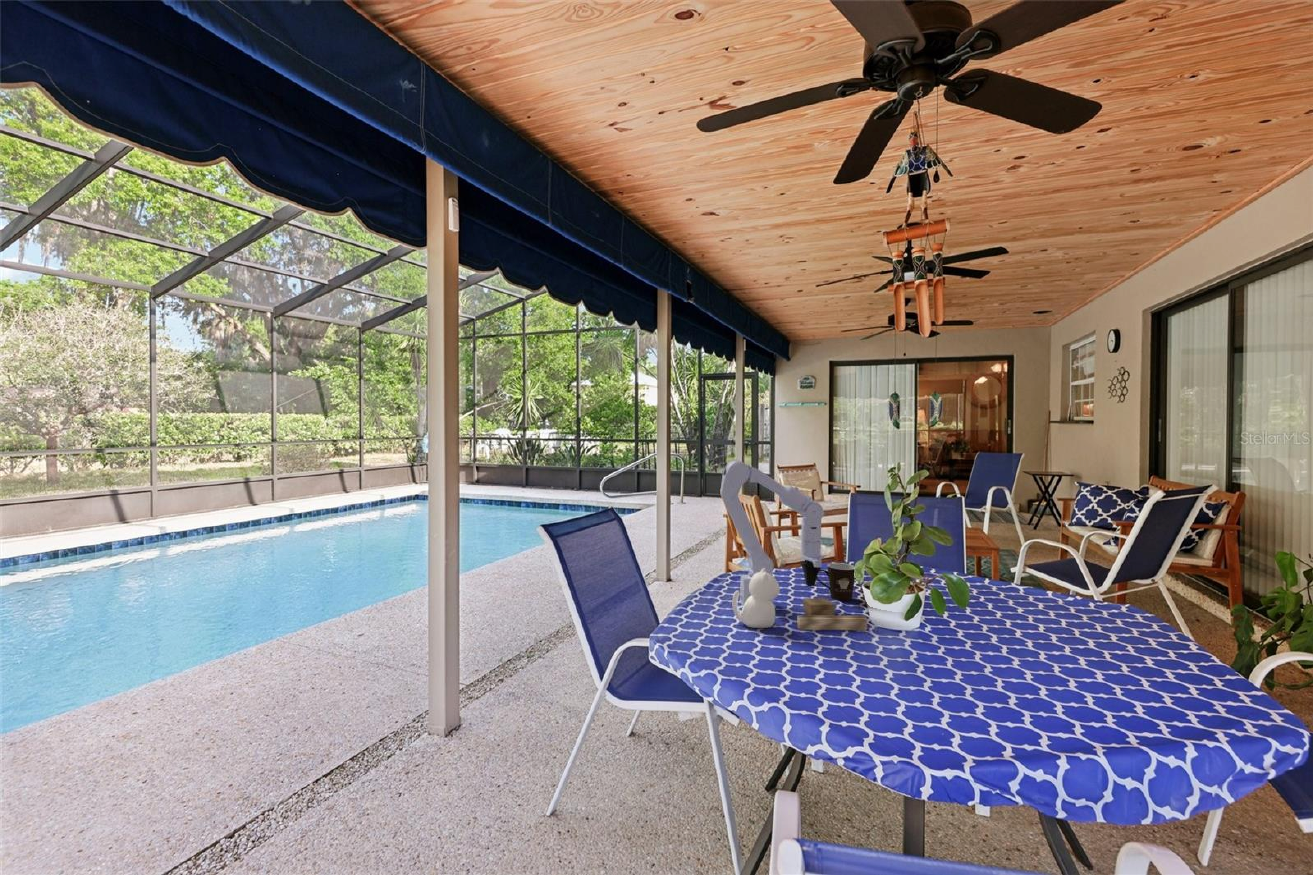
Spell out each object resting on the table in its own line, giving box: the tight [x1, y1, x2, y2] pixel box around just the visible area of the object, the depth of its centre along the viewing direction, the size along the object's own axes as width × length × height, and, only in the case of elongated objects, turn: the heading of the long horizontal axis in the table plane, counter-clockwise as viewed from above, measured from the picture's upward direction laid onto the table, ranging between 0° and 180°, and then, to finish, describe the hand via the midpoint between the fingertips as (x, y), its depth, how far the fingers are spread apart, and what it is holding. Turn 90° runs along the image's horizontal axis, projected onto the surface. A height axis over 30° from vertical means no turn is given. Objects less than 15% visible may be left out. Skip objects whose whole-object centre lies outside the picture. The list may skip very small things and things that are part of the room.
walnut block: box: [802, 597, 836, 616], centre depth 168 cm, size 7×6×4 cm
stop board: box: [796, 614, 868, 631], centre depth 156 cm, size 18×2×3 cm, turn 92°
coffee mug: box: [816, 562, 856, 602], centre depth 185 cm, size 12×9×10 cm
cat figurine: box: [731, 568, 781, 629], centre depth 158 cm, size 9×12×15 cm
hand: (810, 585), depth 176 cm, fingers closed
